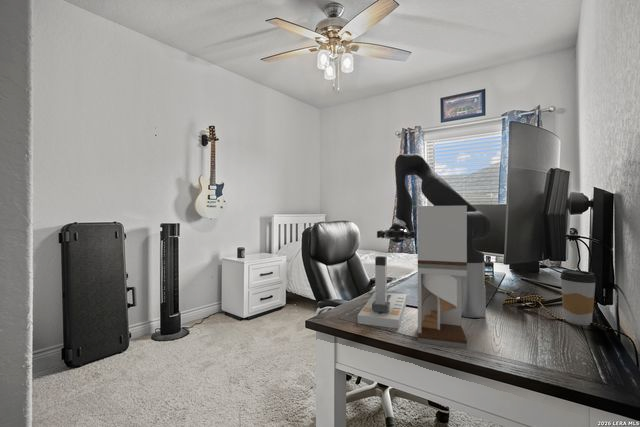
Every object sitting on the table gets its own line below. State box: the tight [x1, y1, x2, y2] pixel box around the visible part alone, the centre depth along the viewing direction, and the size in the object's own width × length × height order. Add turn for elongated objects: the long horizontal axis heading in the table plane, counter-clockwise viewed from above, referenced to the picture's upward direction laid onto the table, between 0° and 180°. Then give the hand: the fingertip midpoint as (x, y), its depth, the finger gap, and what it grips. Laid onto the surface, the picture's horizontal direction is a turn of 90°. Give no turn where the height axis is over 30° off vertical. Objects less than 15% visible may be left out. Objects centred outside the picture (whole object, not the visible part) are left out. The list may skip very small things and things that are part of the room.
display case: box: [417, 205, 468, 349], centre depth 81 cm, size 11×11×35 cm
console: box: [357, 291, 408, 330], centre depth 102 cm, size 12×28×3 cm, turn 159°
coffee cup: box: [560, 269, 597, 326], centre depth 91 cm, size 8×8×15 cm
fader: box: [372, 255, 390, 312], centre depth 94 cm, size 5×4×16 cm
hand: (394, 235), depth 111 cm, fingers open, 8 cm apart
